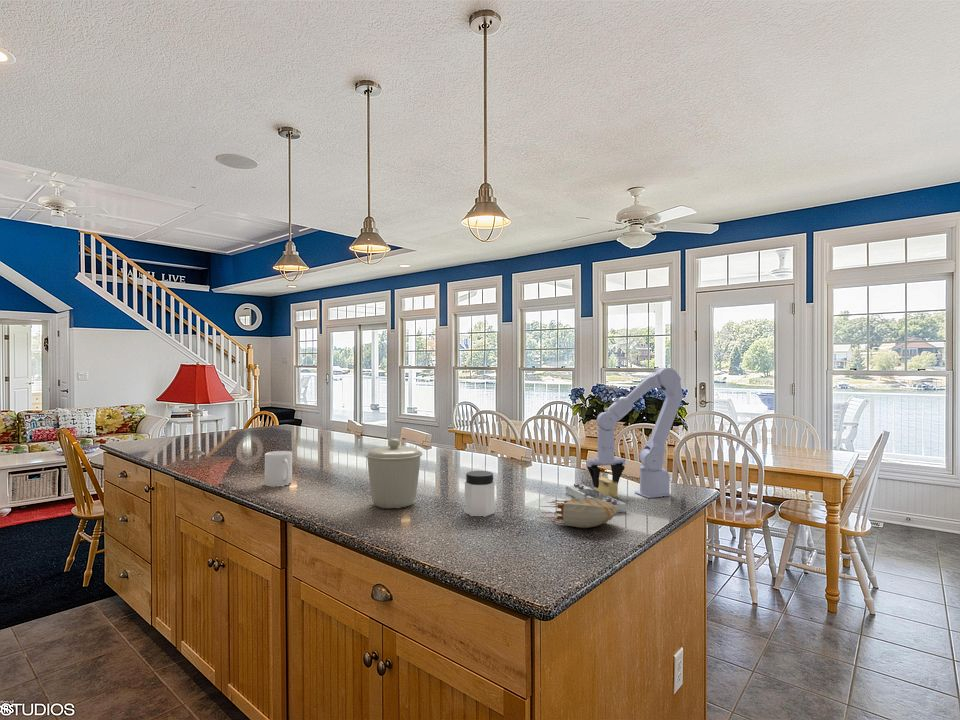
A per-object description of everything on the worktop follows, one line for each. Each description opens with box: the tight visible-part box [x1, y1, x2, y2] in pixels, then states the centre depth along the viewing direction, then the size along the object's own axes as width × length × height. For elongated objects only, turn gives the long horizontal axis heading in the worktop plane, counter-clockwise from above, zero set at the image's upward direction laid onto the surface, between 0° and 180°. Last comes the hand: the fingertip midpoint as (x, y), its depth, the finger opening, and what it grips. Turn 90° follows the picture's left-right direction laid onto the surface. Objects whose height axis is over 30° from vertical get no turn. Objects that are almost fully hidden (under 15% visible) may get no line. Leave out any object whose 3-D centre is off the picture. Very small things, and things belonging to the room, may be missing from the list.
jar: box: [464, 470, 495, 518], centre depth 159 cm, size 9×8×12 cm
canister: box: [364, 438, 424, 509], centre depth 168 cm, size 18×18×21 cm
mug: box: [264, 450, 293, 486], centre depth 194 cm, size 10×12×12 cm
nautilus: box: [539, 497, 618, 529], centre depth 148 cm, size 8×22×15 cm
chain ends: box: [565, 483, 627, 513], centre depth 172 cm, size 7×26×3 cm, turn 19°
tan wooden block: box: [594, 476, 619, 498], centre depth 182 cm, size 4×9×5 cm, turn 18°
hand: (605, 486), depth 182 cm, fingers open, 7 cm apart
